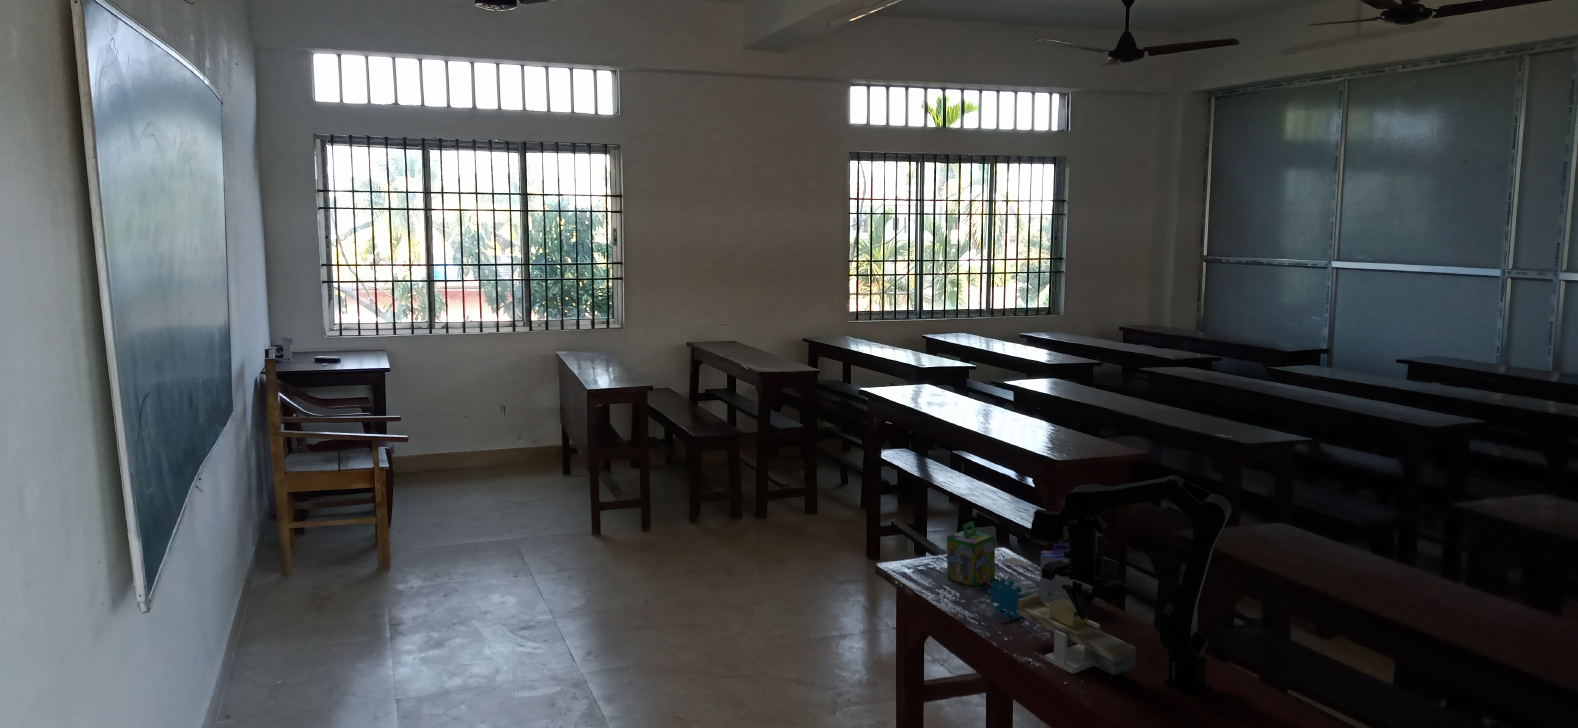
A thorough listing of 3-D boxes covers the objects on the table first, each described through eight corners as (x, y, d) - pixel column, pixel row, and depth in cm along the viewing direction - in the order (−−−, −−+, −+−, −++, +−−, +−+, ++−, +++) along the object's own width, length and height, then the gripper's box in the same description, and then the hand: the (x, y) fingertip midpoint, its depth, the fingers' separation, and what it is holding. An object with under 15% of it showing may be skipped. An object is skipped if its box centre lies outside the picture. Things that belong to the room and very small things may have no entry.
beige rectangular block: (1087, 626, 216) (1087, 608, 216) (1073, 630, 214) (1073, 612, 214) (1062, 615, 222) (1063, 598, 222) (1049, 619, 220) (1049, 602, 220)
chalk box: (974, 588, 259) (974, 531, 256) (945, 579, 265) (945, 524, 263) (996, 578, 265) (996, 523, 262) (968, 569, 271) (967, 515, 269)
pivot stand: (1108, 661, 216) (1109, 628, 215) (1072, 673, 211) (1073, 640, 210) (1080, 647, 223) (1081, 615, 222) (1045, 659, 218) (1045, 626, 217)
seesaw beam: (1138, 666, 207) (1139, 636, 206) (1110, 676, 203) (1111, 645, 202) (1041, 619, 231) (1041, 592, 230) (1014, 627, 227) (1014, 600, 226)
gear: (999, 617, 236) (986, 578, 242) (987, 628, 240) (974, 589, 246) (1039, 615, 240) (1024, 576, 246) (1026, 626, 244) (1012, 587, 250)
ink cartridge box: (1081, 598, 250) (1082, 541, 248) (1083, 607, 244) (1084, 549, 242) (1039, 596, 252) (1040, 540, 250) (1040, 605, 246) (1041, 547, 244)
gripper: (1145, 550, 208) (1145, 624, 210) (1077, 529, 224) (1078, 598, 226) (1106, 561, 202) (1107, 636, 204) (1039, 539, 219) (1040, 609, 221)
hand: (1083, 619), depth 214 cm, fingers closed
